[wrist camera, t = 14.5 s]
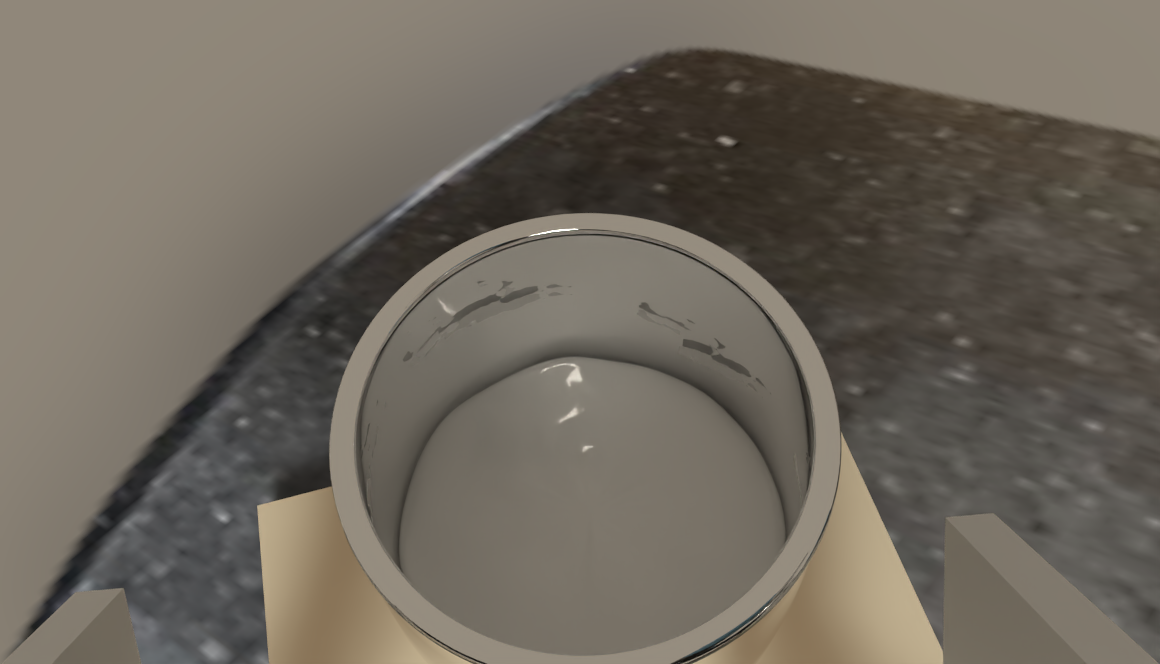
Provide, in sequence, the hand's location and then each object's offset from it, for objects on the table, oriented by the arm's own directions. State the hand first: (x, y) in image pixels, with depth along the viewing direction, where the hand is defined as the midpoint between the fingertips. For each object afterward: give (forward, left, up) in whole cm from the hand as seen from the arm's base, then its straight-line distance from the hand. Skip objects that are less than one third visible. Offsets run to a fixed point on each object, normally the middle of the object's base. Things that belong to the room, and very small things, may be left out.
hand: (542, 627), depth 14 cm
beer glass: (-1, -2, -11) cm, 11 cm away
